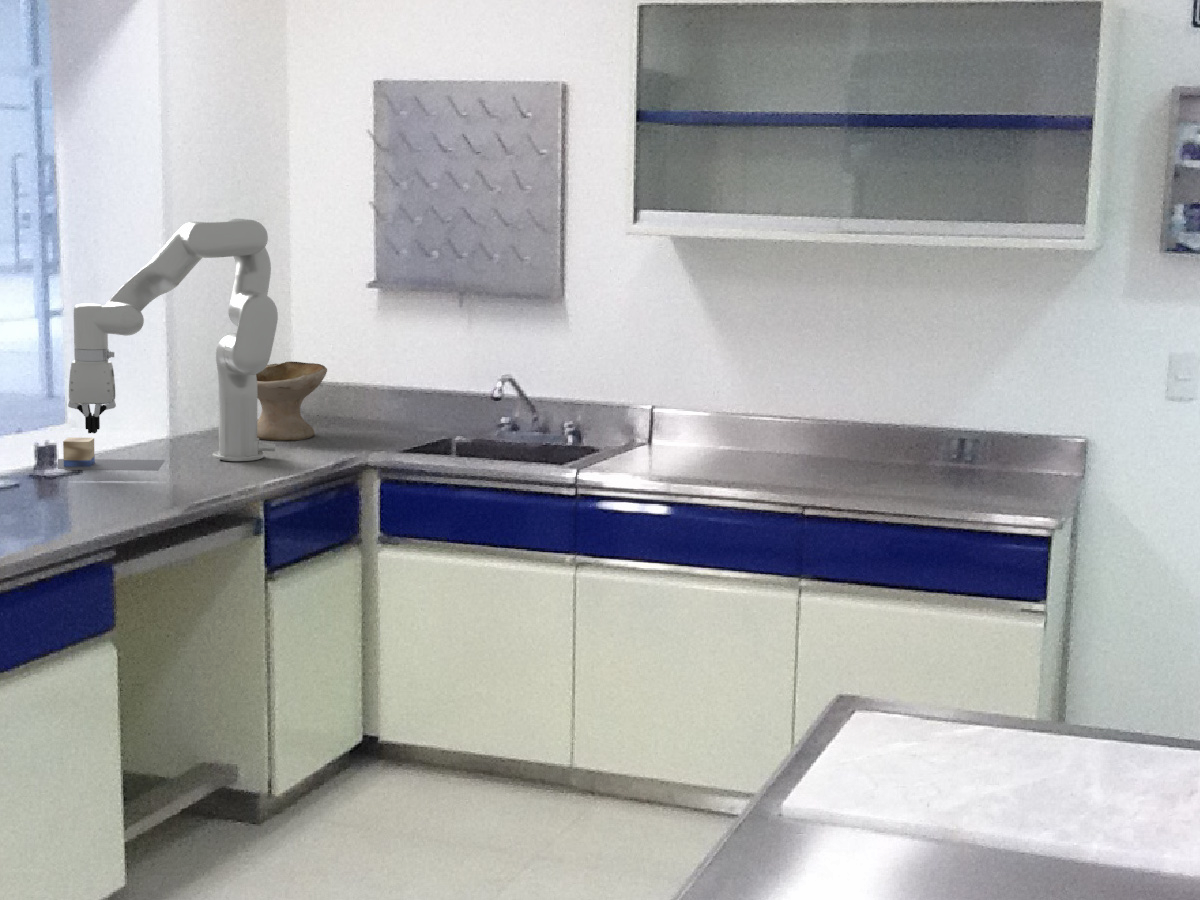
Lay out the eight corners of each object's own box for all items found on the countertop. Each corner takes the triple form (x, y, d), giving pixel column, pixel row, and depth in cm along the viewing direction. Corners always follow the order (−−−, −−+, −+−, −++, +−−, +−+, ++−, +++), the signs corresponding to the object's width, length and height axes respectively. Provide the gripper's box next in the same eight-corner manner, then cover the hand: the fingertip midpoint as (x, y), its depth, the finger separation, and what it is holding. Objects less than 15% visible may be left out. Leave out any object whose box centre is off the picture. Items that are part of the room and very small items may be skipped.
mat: (165, 461, 343) (165, 459, 343) (157, 472, 329) (157, 470, 329) (54, 460, 338) (54, 458, 338) (42, 471, 325) (42, 469, 325)
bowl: (226, 430, 396) (226, 360, 392) (314, 428, 406) (314, 360, 403) (244, 444, 373) (244, 371, 370) (336, 442, 383) (336, 370, 380)
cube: (68, 437, 334) (68, 461, 335) (63, 441, 328) (63, 466, 329) (94, 437, 335) (94, 462, 336) (89, 441, 329) (90, 466, 330)
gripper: (126, 355, 334) (127, 430, 337) (61, 353, 331) (62, 429, 334) (121, 358, 327) (122, 435, 330) (54, 357, 324) (56, 434, 327)
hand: (92, 432), depth 332 cm, fingers closed
